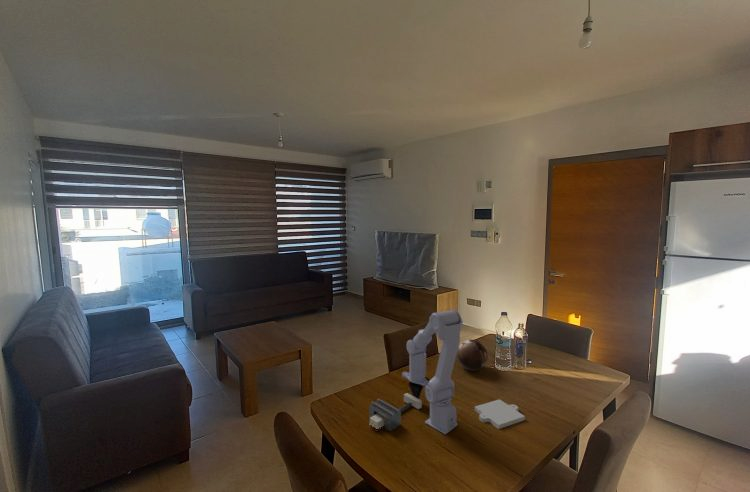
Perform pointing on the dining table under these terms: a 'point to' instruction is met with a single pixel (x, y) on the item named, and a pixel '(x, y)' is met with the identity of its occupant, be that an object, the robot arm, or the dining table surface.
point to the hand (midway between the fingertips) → (416, 399)
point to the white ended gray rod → (379, 420)
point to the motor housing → (386, 413)
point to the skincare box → (424, 365)
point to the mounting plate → (499, 413)
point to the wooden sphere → (472, 355)
